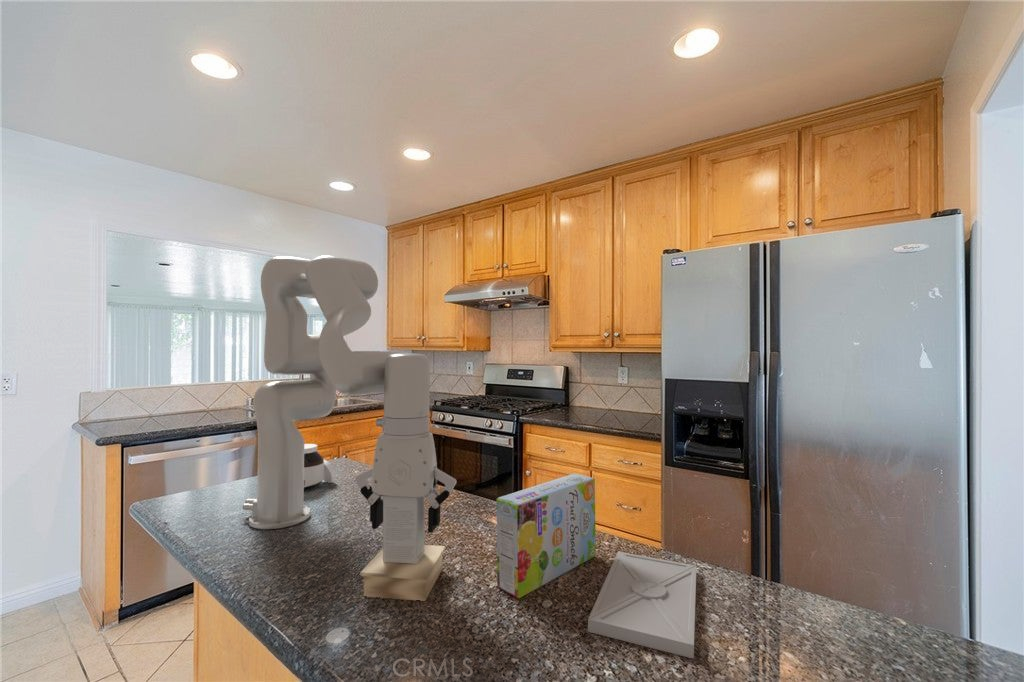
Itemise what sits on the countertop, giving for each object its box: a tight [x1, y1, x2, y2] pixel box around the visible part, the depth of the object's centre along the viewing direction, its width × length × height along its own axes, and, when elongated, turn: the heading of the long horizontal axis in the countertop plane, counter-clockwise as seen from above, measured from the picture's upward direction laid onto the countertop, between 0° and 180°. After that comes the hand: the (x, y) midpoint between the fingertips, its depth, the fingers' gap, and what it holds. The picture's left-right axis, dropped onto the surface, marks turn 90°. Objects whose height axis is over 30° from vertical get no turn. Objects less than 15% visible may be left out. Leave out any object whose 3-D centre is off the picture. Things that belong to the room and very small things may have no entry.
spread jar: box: [304, 443, 337, 492], centre depth 127 cm, size 12×11×12 cm
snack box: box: [496, 473, 597, 599], centre depth 79 cm, size 21×6×15 cm, turn 134°
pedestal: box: [359, 544, 446, 602], centre depth 75 cm, size 11×11×4 cm
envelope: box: [587, 551, 697, 660], centre depth 71 cm, size 24×2×14 cm
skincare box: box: [382, 496, 426, 564], centre depth 75 cm, size 6×4×12 cm
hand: (405, 527), depth 75 cm, fingers open, 9 cm apart
